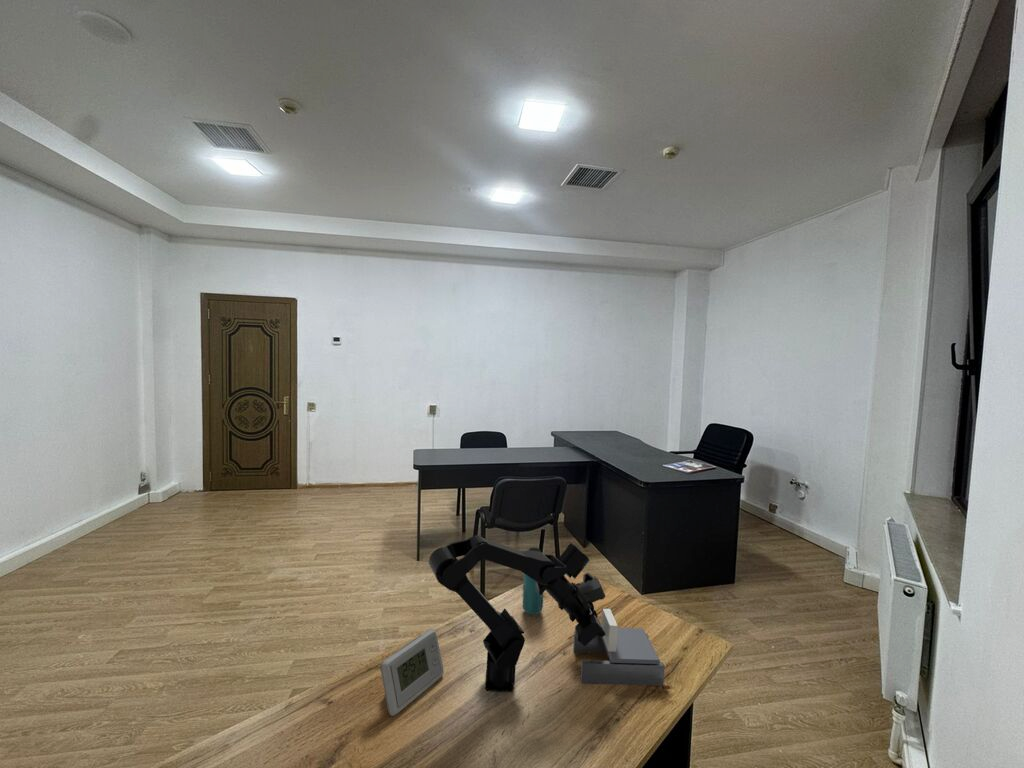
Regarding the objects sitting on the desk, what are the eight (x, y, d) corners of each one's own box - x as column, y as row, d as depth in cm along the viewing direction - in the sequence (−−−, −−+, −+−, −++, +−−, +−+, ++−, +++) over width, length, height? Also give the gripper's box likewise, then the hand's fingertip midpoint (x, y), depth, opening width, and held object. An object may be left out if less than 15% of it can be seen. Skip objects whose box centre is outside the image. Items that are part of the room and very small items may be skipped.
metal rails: (581, 683, 99) (582, 663, 98) (573, 649, 111) (574, 631, 110) (663, 685, 99) (664, 665, 99) (646, 651, 111) (647, 633, 111)
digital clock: (388, 722, 86) (390, 673, 85) (369, 696, 92) (371, 650, 92) (452, 684, 97) (454, 640, 96) (431, 663, 103) (433, 622, 103)
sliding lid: (610, 662, 99) (612, 632, 98) (598, 630, 111) (600, 603, 110) (659, 663, 99) (661, 633, 99) (642, 631, 111) (644, 604, 111)
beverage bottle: (543, 619, 123) (546, 554, 122) (521, 618, 123) (524, 553, 122) (542, 607, 130) (545, 545, 129) (521, 606, 130) (524, 544, 129)
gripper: (595, 590, 94) (639, 637, 95) (579, 553, 113) (616, 593, 114) (559, 622, 95) (604, 669, 95) (549, 580, 113) (587, 620, 114)
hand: (603, 634), depth 105 cm, fingers closed, pressing on sliding lid
